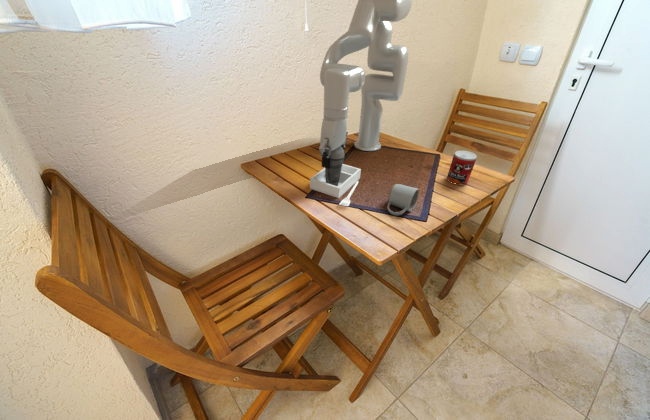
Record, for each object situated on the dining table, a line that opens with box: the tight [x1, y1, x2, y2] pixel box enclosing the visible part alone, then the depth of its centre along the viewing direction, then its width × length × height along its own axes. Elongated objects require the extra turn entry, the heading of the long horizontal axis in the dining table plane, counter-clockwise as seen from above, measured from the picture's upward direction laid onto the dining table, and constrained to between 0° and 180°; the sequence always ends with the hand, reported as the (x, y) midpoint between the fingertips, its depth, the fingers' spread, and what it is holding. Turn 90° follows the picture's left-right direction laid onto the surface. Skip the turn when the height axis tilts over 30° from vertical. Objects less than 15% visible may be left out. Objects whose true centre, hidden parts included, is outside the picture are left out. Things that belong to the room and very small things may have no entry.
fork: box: [338, 180, 360, 207], centre depth 101 cm, size 3×20×2 cm, turn 159°
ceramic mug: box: [387, 183, 420, 216], centre depth 93 cm, size 11×8×8 cm
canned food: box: [446, 150, 478, 185], centre depth 108 cm, size 8×8×11 cm
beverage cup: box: [324, 146, 346, 186], centre depth 99 cm, size 7×7×20 cm
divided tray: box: [309, 163, 362, 199], centre depth 106 cm, size 17×12×4 cm
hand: (333, 162), depth 99 cm, fingers open, 9 cm apart
